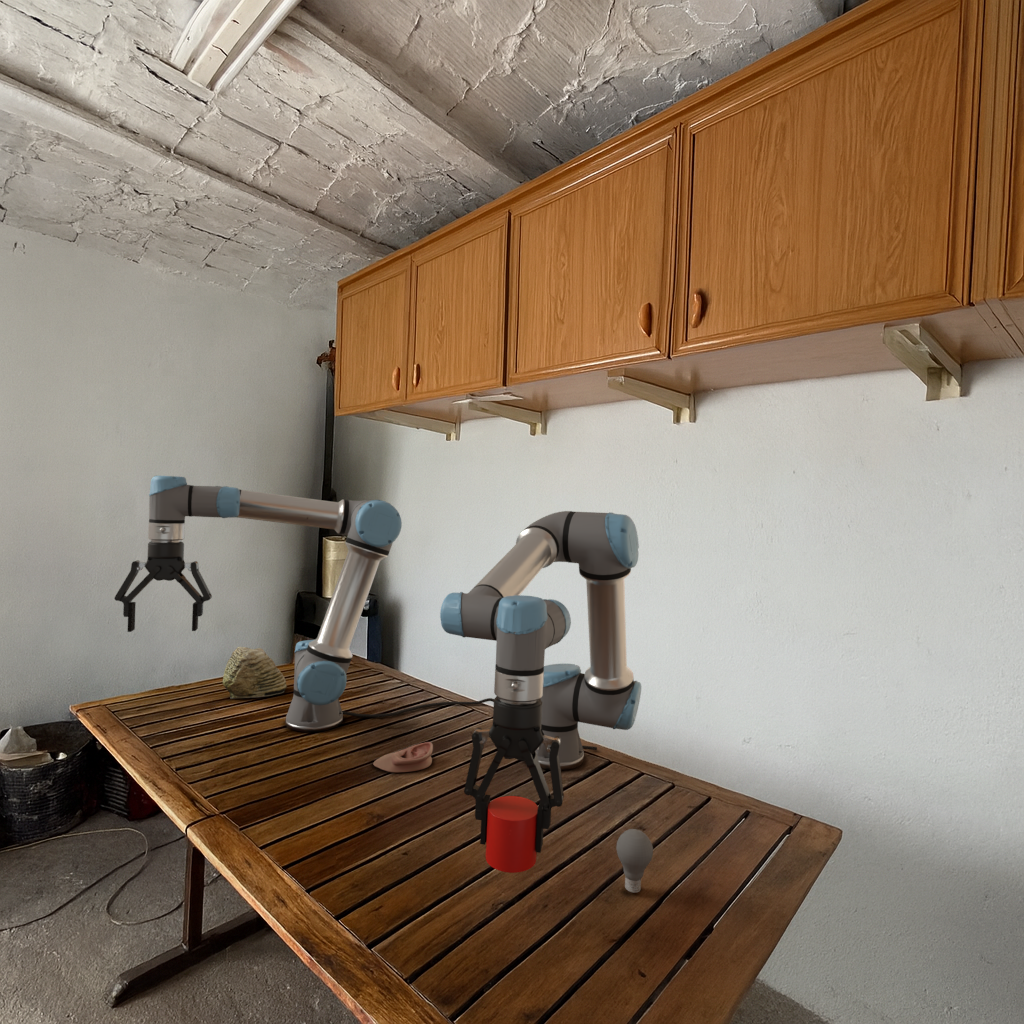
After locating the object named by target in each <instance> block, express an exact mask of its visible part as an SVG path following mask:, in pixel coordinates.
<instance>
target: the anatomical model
mask: <svg viewBox="0 0 1024 1024" xmlns="http://www.w3.org/2000/svg"><path fill="white" fill-rule="evenodd" d="M433 751H434V744H433V743H432V742H430V741H426V742H422V743H418V744H414V745H411V746H408V747H406V748H403V749H401V750H397V751H394V752H390V753H387V754H385V755H382V756H381V757H378V758H377V759H375V760H374V762H373V763H372V764H373V766H374V767H375V768H378V769H380V770H382V771H385V772H388V773H408V772H416V771H420V770H424V769H426V768H428V767H430V766H431V765H432V763H433V758H432V756H431V755H432V754H433Z"/></svg>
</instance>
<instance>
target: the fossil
mask: <svg viewBox="0 0 1024 1024" xmlns="http://www.w3.org/2000/svg"><path fill="white" fill-rule="evenodd" d="M222 676H223V677H222V685H223V687H224V688H225V690H226V691H228V693H229V698H230V699H250V698H264V697H271V696H275V695H281V694H284V693H285V691H286V689H287V687H288V686H287V680H286V678H285V676H284V674H283V673H282V672H281V669H279V668H278V667H277V665H276V663H275V662H274V660H273V659H272V658H271V657H270V656H269V655H268V654H267V653H266V652H265V650H264V649H263V648H260V647H258V648H251V647H247V646H246V647H245V646H238V647H237V648H236V649H235V650H233V651H232V653H231V656H230V657H229V659H228V660H227V663H226V666H225V668H224V671H223V675H222Z"/></svg>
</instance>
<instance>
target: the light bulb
mask: <svg viewBox="0 0 1024 1024" xmlns="http://www.w3.org/2000/svg"><path fill="white" fill-rule="evenodd" d="M615 849H616V854H617V857H618V859H619V861H620V863H621V865H622V867H623V873H624V874H623V875H624V876H625V878H624V888H625V890H627V891H628V892H630V893H634V894H635V893H639V892H640V891H641V889H642V887H641V886H642V879H643V877H644V875H645V871H646V868H647V867H648V866H649V864H650V863H651V861H652V859H653V855H654V847H653V843H652V841H651V838H649V836H648V835H647V834H646V833H645V832H643V831H642V830H641V829H636V828H629V829H627V830H625V831H623V832H622V833H621V834H620V835H619V837H618V839H617V841H616V847H615Z"/></svg>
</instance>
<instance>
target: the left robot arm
mask: <svg viewBox="0 0 1024 1024" xmlns="http://www.w3.org/2000/svg"><path fill="white" fill-rule="evenodd" d="M149 486H150V488H149V494H148V497H149V500H148V532H147V534H148V536H147V539H148V540H150V541H148V543H147V559H146V561H141V560H138V559H137V560H135V561H131V566H130V571H129V573H128V574H127V575H126V577H125V579H124V580H123V583H122V584H121V586H120V587H119V589H118V591H117V593H116V594H115V596H114V600H115V601H117V602H121V603H122V604H123V608H122V609H123V611H122V612H123V613H122V615H123V617H124V618H127V633H128V632H129V633H131V632H134V630H136V603H137V602H136V601H133V600H134V599H135V598H136V597H137V596H139V594H140V593H141V592H142V591H143V590H144V589H145V588H146V587H147V586H148V585H149V584H150V583H151V582H152V581H153V580H156V581H157V582H158V581H169V582H170V581H172V582H173V581H174V580H175V581H176V582H177V583H179V585H180V586H181V587H182V588H183V589H184V590H185V592H187V594H188V595H189V596H190V597H191V598H192V599H193V600H194V601H195V602H193V603H192V615H191V617H192V618H191V622H192V623H191V632H196V631H197V630H198V629H199V628H198V627H199V617H202V616H203V614H204V603H206V602H208V601H210V600H211V599H212V597H213V595H212V593H211V591H210V589H209V587H208V585H207V583H206V582H205V579H204V578H203V576H202V574H201V572H200V568H199V562H198V561H197V560H194V561H192V562H191V561H190V562H185V559H184V556H185V543H184V541H183V540H185V531H186V530H185V529H186V523H185V522H186V517H197V518H221V519H228V518H229V519H231V518H238V519H245V520H246V519H247V520H254V521H261V522H262V521H263V522H269V523H270V522H271V523H281V524H287V525H294V526H295V525H296V526H303V527H313V528H319V529H320V528H321V529H328V530H334V531H335V532H336V533H337V534H339V535H340V534H341V535H347V537H346V539H345V542H344V545H346V547H347V554H346V557H345V559H344V562H343V565H342V568H341V570H340V573H339V576H338V579H337V582H336V583H335V587H334V589H333V592H332V596H331V598H330V601H329V604H328V607H327V610H326V612H325V615H324V618H323V620H322V623H321V626H320V629H319V631H318V634H317V637H316V638H315V639H307V640H300V641H298V642H297V643H295V648H294V649H295V650H294V672H293V673H294V674H293V675H294V676H293V678H294V679H293V695H292V696H293V697H292V699H291V702H290V704H289V708H288V711H287V713H286V715H285V726H286V728H287V729H289V730H291V731H294V732H295V731H296V732H301V733H316V732H325V731H329V730H332V729H335V728H337V727H339V726H340V725H342V723H343V722H344V715H345V716H349V717H356V718H367V719H369V718H371V719H372V718H373V719H374V718H375V719H377V718H387V717H394V716H397V715H398V716H399V715H400V714H405V713H408V712H412V711H416V710H420V709H425V708H431V707H438V706H453V705H458V706H459V705H460V706H462V705H463V706H466V705H467V706H474V705H480V704H484V703H487V702H492V703H494V699H495V698H492V697H489V698H484V699H481V700H477V701H442V702H441V701H440V702H433V703H426V704H421V705H416V706H413V707H407V708H404V709H401V710H397V711H394V712H388V713H378V714H377V713H376V714H374V713H373V714H371V713H370V714H368V713H367V714H366V713H356V712H352V711H351V712H350V711H344V710H343V709H342V706H341V702H340V699H339V698H340V697H341V696H342V695H343V694H344V692H345V690H346V686H347V681H348V679H347V678H348V677H347V676H348V675H347V673H348V671H349V667H350V665H351V661H352V659H353V653H352V651H351V649H350V647H351V645H352V641H353V639H354V636H355V633H356V630H357V626H358V625H359V621H360V619H361V616H362V613H363V610H364V607H365V605H366V602H367V600H368V596H369V593H370V590H371V589H372V585H373V582H374V579H375V577H376V574H377V571H378V568H379V565H380V562H381V561H383V560H384V559H387V558H388V557H389V554H390V552H391V549H392V546H393V543H394V542H395V541H396V540H397V538H398V537H399V535H400V533H401V531H402V526H403V525H402V523H403V522H402V516H401V514H400V512H399V511H398V510H397V509H396V508H395V506H394V505H392V504H391V503H390V502H387V501H385V500H381V499H364V500H351V499H341V500H340V501H332V500H331V501H330V500H322V499H316V498H310V497H309V498H308V497H300V496H293V495H286V494H277V493H270V492H263V491H255V490H247V489H239V488H238V487H232V486H225V485H223V486H220V485H215V486H214V485H191V484H188V483H187V479H186V477H185V476H178V475H177V476H176V475H175V476H174V475H154V476H153V477H152V478H151V480H150V485H149ZM144 568H145V570H146V571H147V572H148V574H147V575H146V576H145V577H144V578H143V579H142V580H141V581H140V582H139V583H138V584H137V585H136V586H135V587H134V588H133V590H131V591H130V593H128V594H127V592H128V591H129V589H130V587H131V586H132V584H133V582H134V581H135V579H136V577H137V576H138V574H139V572H140V571H142V570H143V569H144ZM185 569H187V570H188V572H191V575H192V577H193V579H194V581H195V584H196V585H197V587H198V589H199V591H200V592H201V593H199V591H198V590H197V589H196V588H195V586H193V585H192V584H191V582H190V581H189V580H188V579H187V578H186V576H185V574H184V573H182V572H184V570H185ZM126 594H127V595H126Z"/></svg>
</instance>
